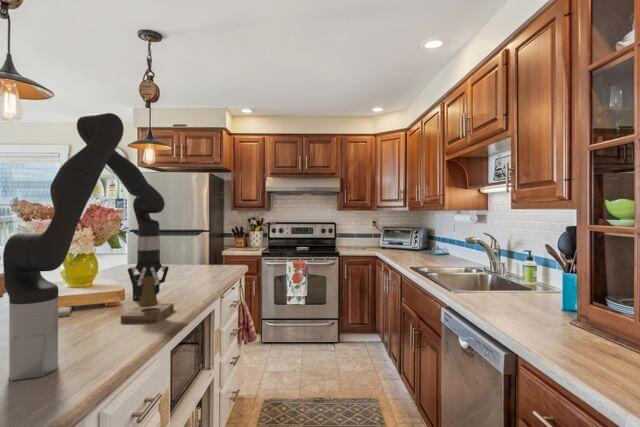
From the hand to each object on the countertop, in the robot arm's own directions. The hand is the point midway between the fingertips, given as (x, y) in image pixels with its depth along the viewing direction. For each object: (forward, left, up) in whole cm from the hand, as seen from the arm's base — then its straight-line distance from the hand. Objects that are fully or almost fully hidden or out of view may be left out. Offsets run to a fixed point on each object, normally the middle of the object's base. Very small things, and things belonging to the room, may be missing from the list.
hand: (148, 294), depth 131 cm
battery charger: (+28, +5, -8) cm, 30 cm away
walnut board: (0, 0, -8) cm, 8 cm away
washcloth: (+18, +34, -9) cm, 40 cm away
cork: (0, 0, -4) cm, 4 cm away
